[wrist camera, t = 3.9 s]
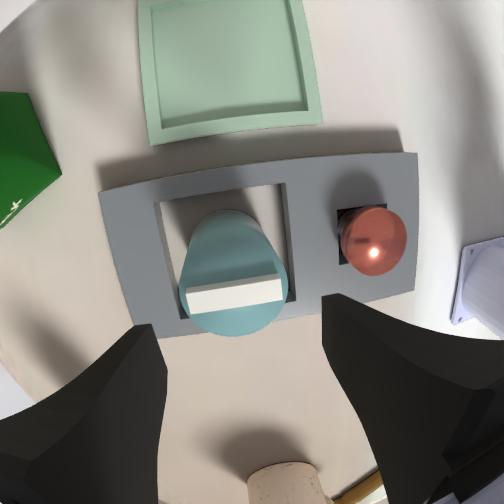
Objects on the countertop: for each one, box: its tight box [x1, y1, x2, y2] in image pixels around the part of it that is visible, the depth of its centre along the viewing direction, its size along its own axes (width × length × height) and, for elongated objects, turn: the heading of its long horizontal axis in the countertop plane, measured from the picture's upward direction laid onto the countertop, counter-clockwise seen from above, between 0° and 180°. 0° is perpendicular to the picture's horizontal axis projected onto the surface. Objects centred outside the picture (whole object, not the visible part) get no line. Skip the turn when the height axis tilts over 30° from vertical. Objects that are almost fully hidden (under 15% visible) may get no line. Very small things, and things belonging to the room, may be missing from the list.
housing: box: [98, 152, 419, 339], centre depth 19 cm, size 20×10×2 cm, turn 97°
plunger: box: [338, 206, 407, 276], centre depth 18 cm, size 4×4×3 cm
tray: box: [137, 0, 323, 146], centre depth 15 cm, size 10×10×1 cm
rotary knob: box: [179, 210, 288, 337], centre depth 16 cm, size 5×5×7 cm
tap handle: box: [333, 470, 383, 504], centre depth 31 cm, size 3×3×30 cm
